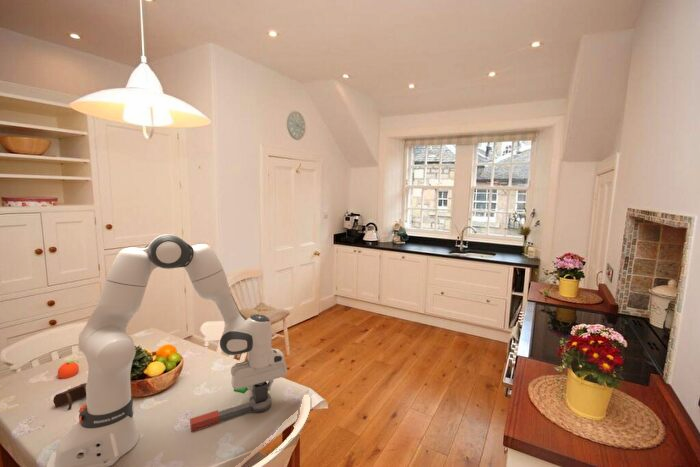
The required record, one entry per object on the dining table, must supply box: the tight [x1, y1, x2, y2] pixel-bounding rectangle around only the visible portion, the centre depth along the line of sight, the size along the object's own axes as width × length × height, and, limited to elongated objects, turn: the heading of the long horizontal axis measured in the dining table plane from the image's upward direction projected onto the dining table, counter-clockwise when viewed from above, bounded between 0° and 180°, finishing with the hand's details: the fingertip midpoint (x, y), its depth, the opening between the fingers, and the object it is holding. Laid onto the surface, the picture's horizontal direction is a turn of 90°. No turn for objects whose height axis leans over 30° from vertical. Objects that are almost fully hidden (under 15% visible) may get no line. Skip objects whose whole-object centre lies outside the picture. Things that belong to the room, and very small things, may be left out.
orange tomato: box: [57, 360, 80, 380], centre depth 139 cm, size 8×7×7 cm
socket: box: [251, 381, 269, 403], centre depth 123 cm, size 5×5×6 cm
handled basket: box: [52, 382, 87, 410], centre depth 119 cm, size 18×12×7 cm, turn 57°
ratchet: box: [189, 393, 272, 432], centre depth 118 cm, size 28×8×6 cm, turn 122°
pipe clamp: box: [233, 387, 248, 394], centre depth 137 cm, size 11×4×5 cm
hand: (260, 392), depth 123 cm, fingers closed on socket, 5 cm apart
